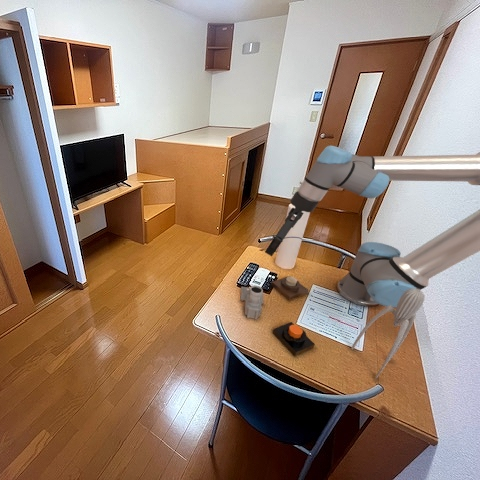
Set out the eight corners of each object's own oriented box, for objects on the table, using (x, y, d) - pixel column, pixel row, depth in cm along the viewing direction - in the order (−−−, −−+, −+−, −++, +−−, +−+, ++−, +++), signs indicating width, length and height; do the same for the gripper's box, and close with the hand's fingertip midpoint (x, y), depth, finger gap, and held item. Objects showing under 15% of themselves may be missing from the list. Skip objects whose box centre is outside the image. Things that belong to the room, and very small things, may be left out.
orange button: (294, 327, 89) (295, 323, 88) (303, 336, 86) (305, 332, 85) (285, 330, 88) (286, 326, 87) (294, 340, 85) (296, 336, 84)
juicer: (404, 376, 77) (462, 302, 61) (375, 379, 76) (426, 305, 61) (376, 345, 86) (421, 275, 70) (350, 348, 85) (389, 277, 70)
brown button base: (289, 279, 115) (291, 272, 113) (307, 293, 107) (309, 286, 105) (271, 285, 113) (272, 278, 110) (288, 300, 104) (290, 293, 102)
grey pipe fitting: (243, 293, 92) (244, 268, 105) (239, 316, 98) (240, 291, 111) (269, 297, 90) (267, 271, 102) (264, 321, 96) (261, 294, 108)
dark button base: (290, 326, 94) (292, 318, 92) (313, 348, 86) (316, 340, 84) (272, 333, 91) (274, 325, 89) (294, 356, 83) (297, 348, 81)
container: (296, 269, 121) (313, 211, 106) (276, 268, 123) (291, 210, 107) (292, 259, 128) (308, 203, 113) (273, 257, 130) (287, 202, 114)
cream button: (290, 279, 110) (291, 275, 109) (298, 284, 107) (299, 281, 106) (283, 281, 109) (284, 277, 108) (290, 287, 106) (291, 283, 105)
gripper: (303, 182, 93) (272, 229, 105) (288, 200, 74) (253, 254, 87) (323, 192, 90) (289, 239, 103) (314, 213, 72) (274, 267, 84)
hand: (273, 246), depth 95 cm, fingers open, 13 cm apart
